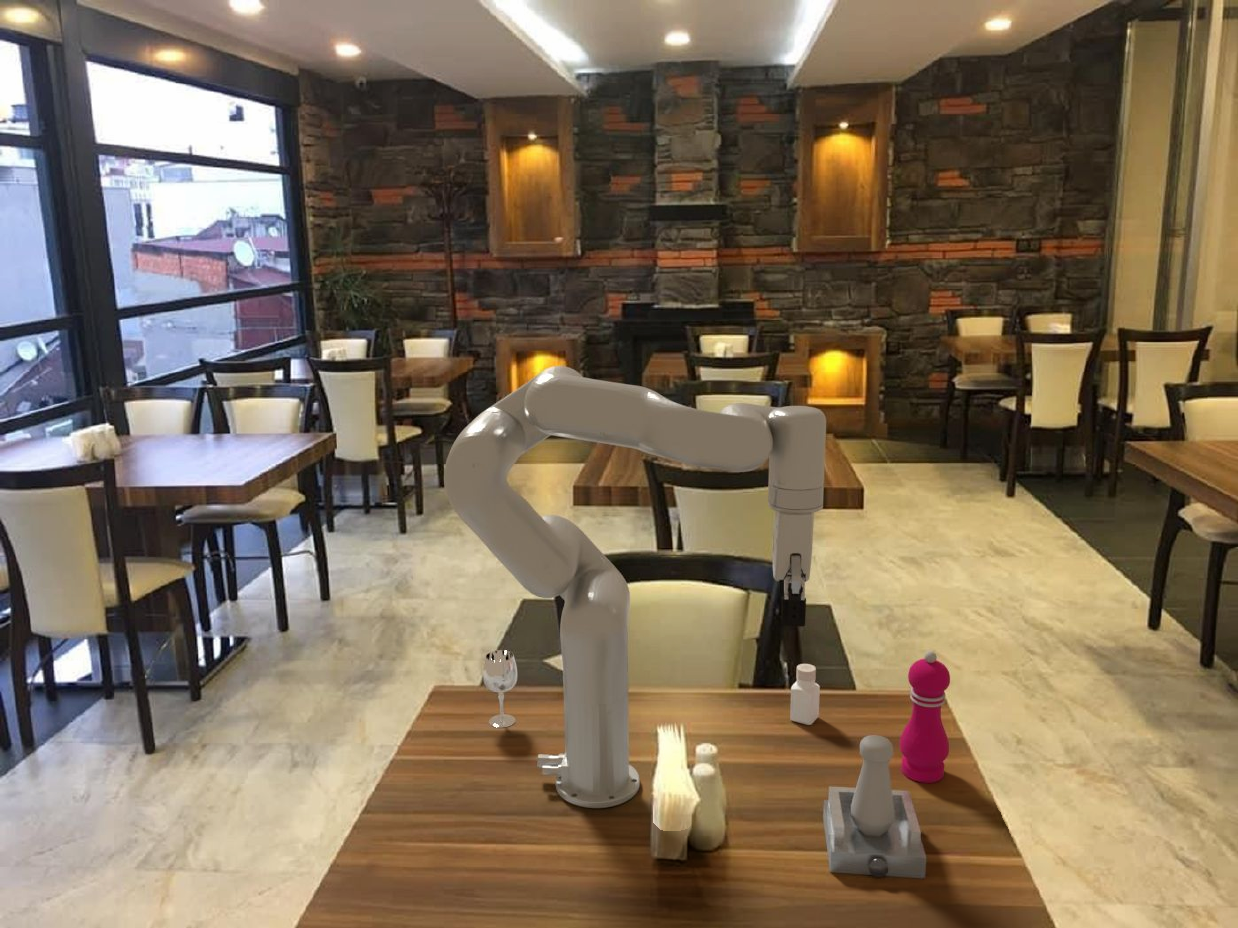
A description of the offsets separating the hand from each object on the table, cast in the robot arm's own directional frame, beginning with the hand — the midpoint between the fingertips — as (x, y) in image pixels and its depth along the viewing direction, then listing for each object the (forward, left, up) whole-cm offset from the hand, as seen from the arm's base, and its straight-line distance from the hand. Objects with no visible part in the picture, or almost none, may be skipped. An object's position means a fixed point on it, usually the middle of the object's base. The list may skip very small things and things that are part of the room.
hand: (791, 611), depth 142 cm
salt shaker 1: (+4, +22, -28) cm, 36 cm away
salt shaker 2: (+11, -13, -26) cm, 31 cm away
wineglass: (-47, +16, -28) cm, 57 cm away
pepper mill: (+21, +7, -28) cm, 36 cm away
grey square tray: (+11, -13, -28) cm, 33 cm away
